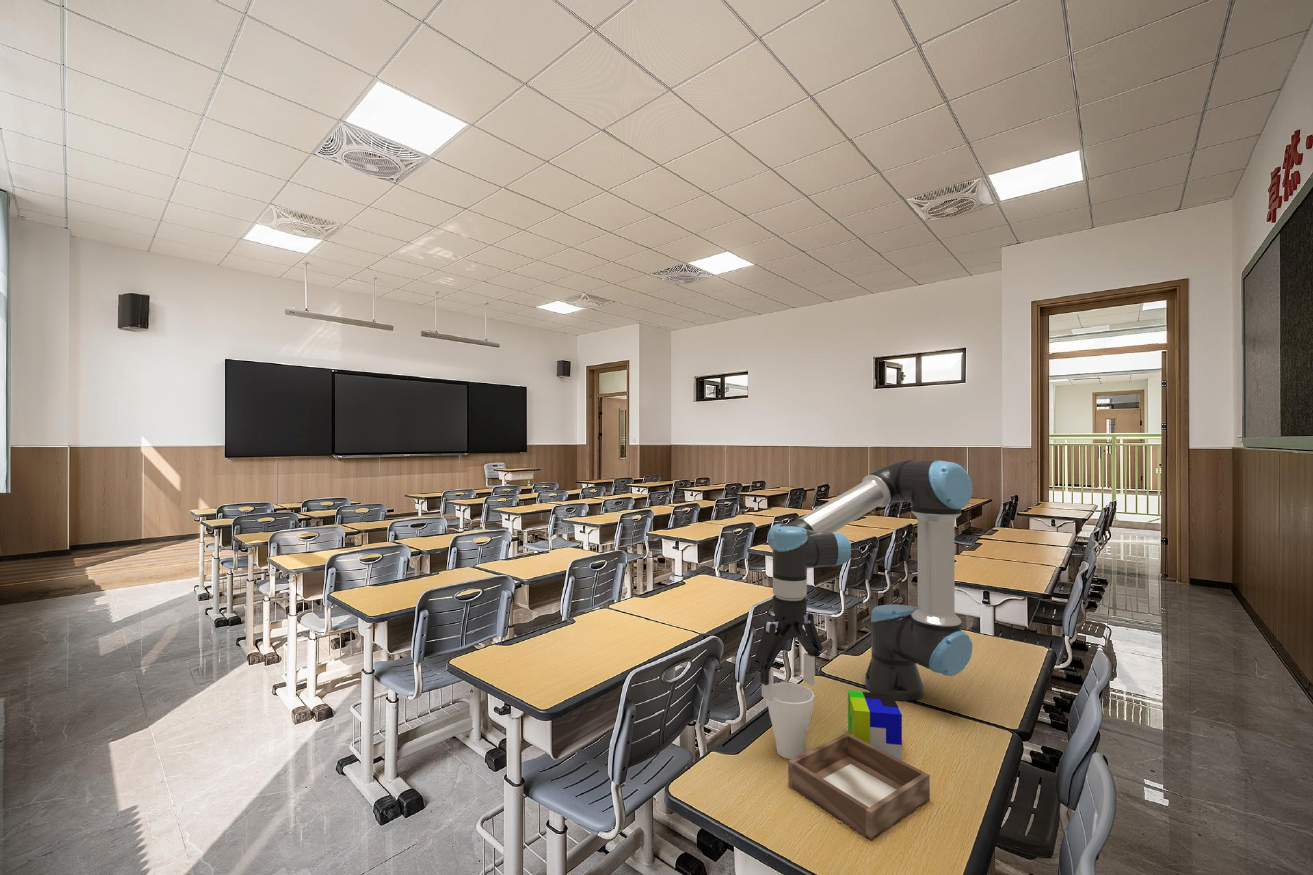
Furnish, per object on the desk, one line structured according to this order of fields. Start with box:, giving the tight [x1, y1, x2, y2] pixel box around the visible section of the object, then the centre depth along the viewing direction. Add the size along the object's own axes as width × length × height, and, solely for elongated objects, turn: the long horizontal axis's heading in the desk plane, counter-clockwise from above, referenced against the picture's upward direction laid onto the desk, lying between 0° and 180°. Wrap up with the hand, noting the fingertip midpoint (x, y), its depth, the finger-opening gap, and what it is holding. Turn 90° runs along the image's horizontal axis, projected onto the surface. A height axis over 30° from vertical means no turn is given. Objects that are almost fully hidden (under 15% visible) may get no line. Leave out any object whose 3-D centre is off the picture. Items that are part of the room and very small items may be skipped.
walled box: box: [787, 732, 931, 842], centre depth 111 cm, size 19×19×5 cm
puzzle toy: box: [847, 690, 903, 761], centre depth 128 cm, size 10×10×10 cm
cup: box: [766, 681, 815, 760], centre depth 125 cm, size 10×10×14 cm
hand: (788, 690), depth 125 cm, fingers open, 13 cm apart
